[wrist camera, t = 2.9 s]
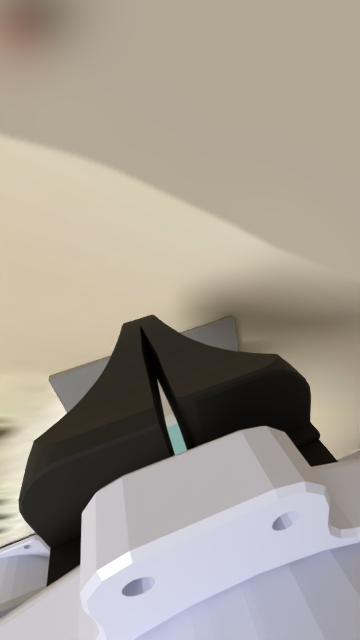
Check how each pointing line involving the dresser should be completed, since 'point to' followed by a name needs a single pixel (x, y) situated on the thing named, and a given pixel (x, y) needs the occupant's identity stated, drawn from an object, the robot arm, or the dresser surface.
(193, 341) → the robot arm
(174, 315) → the dresser surface
